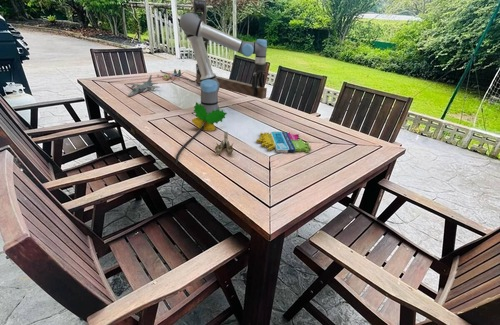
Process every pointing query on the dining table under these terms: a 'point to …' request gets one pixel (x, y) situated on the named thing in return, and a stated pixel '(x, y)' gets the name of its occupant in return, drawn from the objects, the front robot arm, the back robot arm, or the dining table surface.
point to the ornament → (207, 117)
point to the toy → (171, 75)
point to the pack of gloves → (283, 142)
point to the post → (239, 87)
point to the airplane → (142, 87)
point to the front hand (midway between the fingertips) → (257, 96)
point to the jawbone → (224, 145)
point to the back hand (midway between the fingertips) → (203, 79)
